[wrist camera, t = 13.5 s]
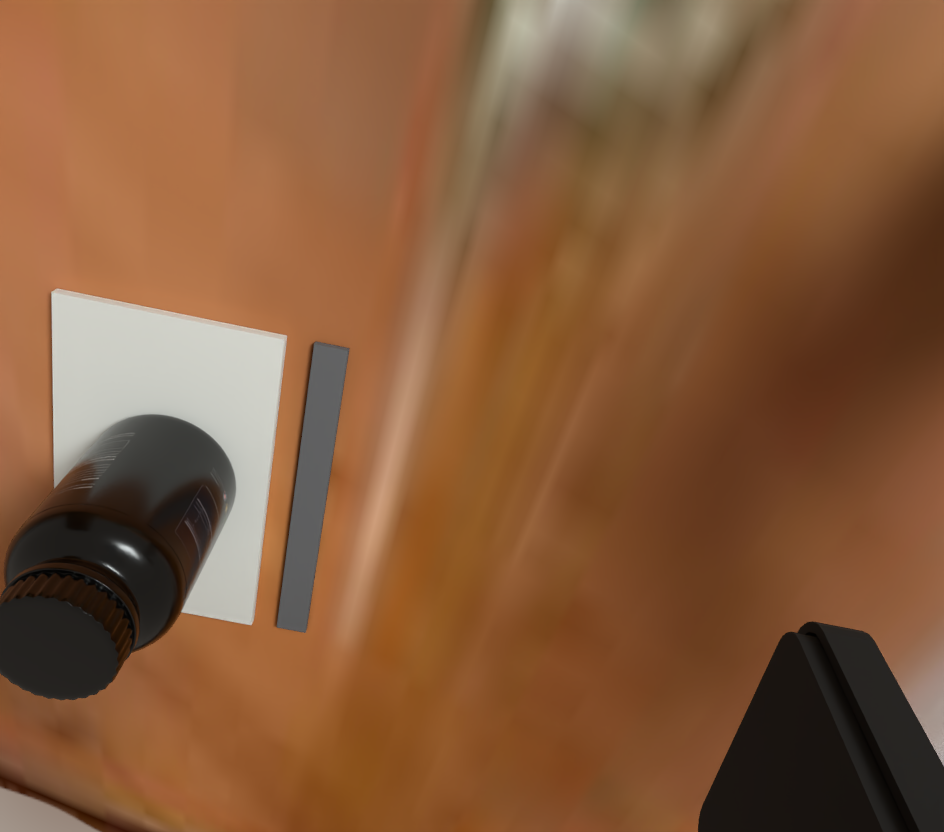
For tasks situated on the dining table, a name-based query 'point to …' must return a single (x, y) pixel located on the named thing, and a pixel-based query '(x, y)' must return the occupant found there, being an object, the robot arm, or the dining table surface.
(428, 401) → the dining table surface
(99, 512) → the supplement bottle
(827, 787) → the robot arm
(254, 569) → the white tile with strip
